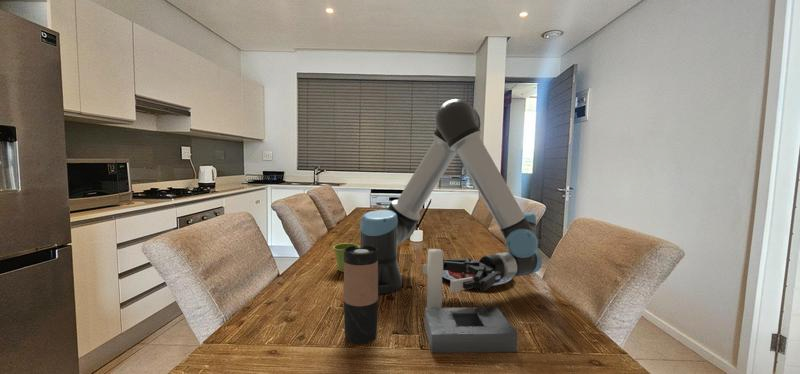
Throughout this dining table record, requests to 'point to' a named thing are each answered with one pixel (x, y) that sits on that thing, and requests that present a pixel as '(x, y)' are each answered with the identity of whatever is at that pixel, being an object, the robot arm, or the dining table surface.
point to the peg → (434, 278)
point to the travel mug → (360, 293)
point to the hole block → (469, 330)
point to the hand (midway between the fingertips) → (436, 277)
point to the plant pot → (341, 254)
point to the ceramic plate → (466, 276)
